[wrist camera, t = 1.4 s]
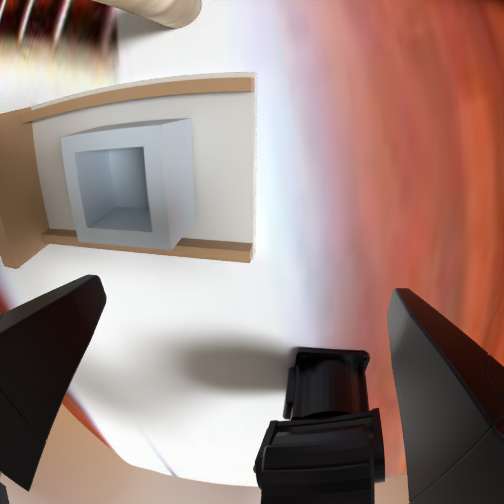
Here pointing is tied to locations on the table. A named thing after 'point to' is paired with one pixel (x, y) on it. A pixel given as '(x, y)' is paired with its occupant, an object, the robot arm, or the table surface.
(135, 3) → the dowel
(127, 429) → the table surface
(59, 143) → the tan wooden u-shaped frame
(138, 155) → the block
